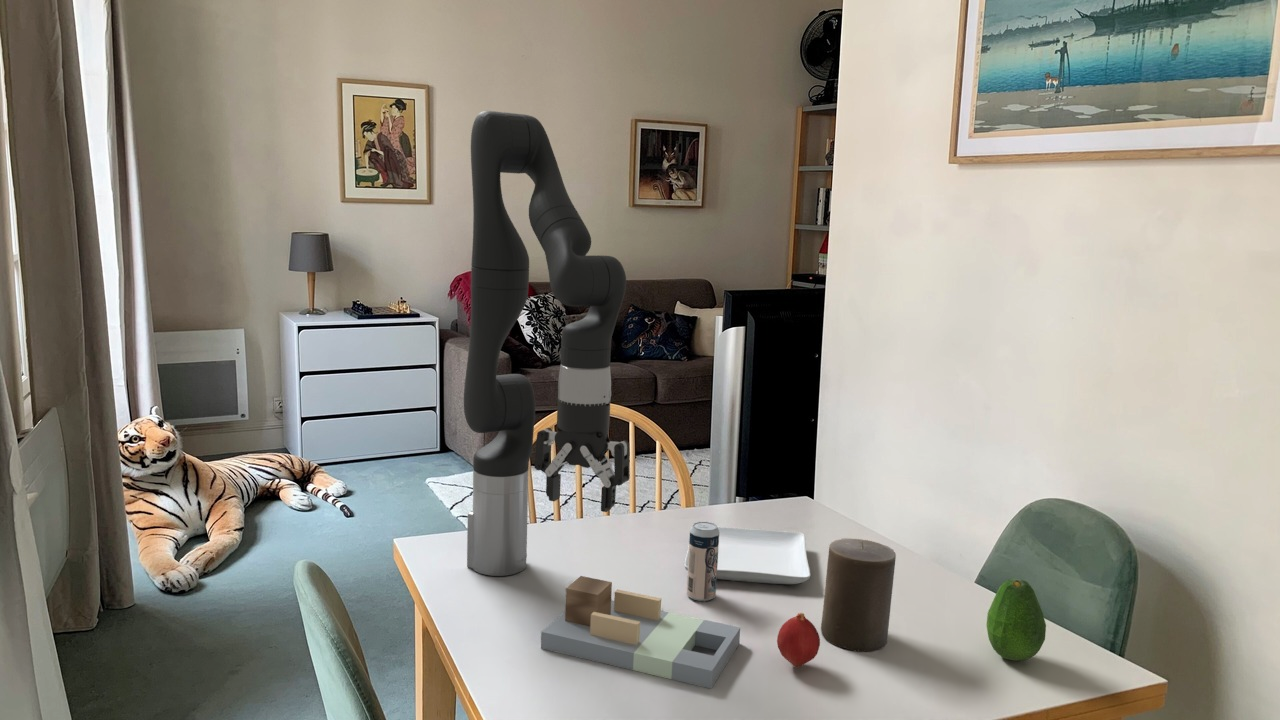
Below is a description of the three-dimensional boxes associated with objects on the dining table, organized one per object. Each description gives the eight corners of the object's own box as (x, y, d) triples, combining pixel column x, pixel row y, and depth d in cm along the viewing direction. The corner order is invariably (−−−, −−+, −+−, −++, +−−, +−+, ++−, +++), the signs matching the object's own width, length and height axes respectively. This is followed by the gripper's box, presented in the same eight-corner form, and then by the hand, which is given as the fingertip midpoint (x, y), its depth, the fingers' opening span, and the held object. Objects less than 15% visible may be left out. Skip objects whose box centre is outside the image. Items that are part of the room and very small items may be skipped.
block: (565, 620, 133) (566, 588, 132) (579, 607, 137) (580, 575, 136) (596, 628, 131) (597, 594, 130) (610, 614, 136) (611, 582, 135)
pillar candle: (849, 657, 131) (860, 556, 128) (807, 627, 139) (816, 533, 137) (901, 645, 135) (912, 548, 133) (857, 617, 144) (866, 526, 141)
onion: (771, 656, 130) (775, 602, 129) (811, 656, 131) (815, 603, 129) (780, 676, 124) (785, 621, 123) (822, 676, 125) (827, 621, 124)
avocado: (971, 648, 135) (980, 571, 133) (1017, 643, 137) (1026, 567, 135) (1007, 675, 128) (1017, 594, 125) (1054, 670, 130) (1064, 589, 128)
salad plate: (682, 584, 154) (683, 565, 154) (690, 539, 175) (691, 522, 175) (810, 596, 152) (811, 576, 152) (803, 549, 173) (804, 531, 172)
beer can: (713, 604, 146) (718, 532, 144) (684, 600, 147) (688, 529, 145) (717, 592, 151) (721, 522, 149) (688, 588, 152) (692, 519, 150)
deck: (540, 648, 130) (541, 611, 129) (582, 609, 142) (584, 575, 141) (710, 688, 121) (713, 649, 120) (739, 643, 134) (741, 607, 133)
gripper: (527, 394, 130) (524, 503, 133) (617, 407, 125) (612, 521, 128) (553, 385, 137) (550, 490, 140) (640, 398, 132) (635, 506, 134)
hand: (580, 505), depth 134 cm, fingers open, 8 cm apart
